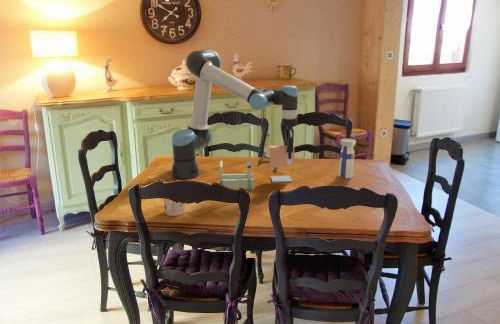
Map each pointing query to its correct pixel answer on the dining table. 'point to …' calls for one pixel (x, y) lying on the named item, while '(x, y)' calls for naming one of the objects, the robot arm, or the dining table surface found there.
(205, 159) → the dining table surface
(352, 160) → the water bottle
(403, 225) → the dining table surface
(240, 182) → the dispenser
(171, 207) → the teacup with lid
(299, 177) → the dining table surface
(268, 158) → the toilet paper hanger
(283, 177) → the tray
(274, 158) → the pink cube
